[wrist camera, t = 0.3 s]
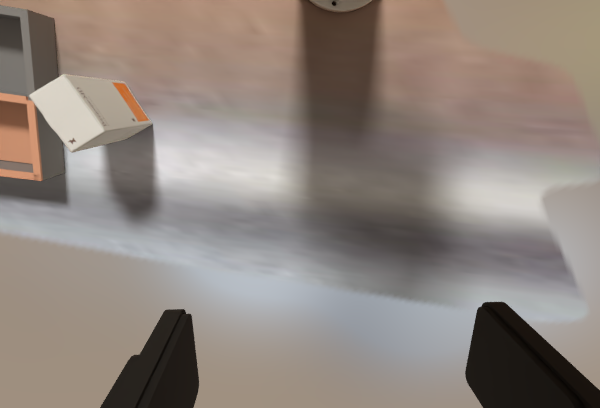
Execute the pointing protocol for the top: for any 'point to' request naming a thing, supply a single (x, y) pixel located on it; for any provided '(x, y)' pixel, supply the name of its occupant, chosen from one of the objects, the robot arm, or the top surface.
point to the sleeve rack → (27, 96)
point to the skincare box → (90, 111)
